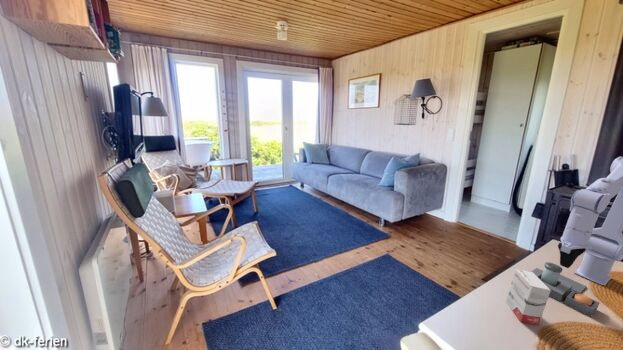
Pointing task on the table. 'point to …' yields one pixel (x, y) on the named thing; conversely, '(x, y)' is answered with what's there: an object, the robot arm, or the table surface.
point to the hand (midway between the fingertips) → (564, 266)
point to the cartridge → (551, 273)
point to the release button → (583, 299)
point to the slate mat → (574, 284)
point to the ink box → (527, 296)
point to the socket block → (560, 288)
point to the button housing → (581, 304)
